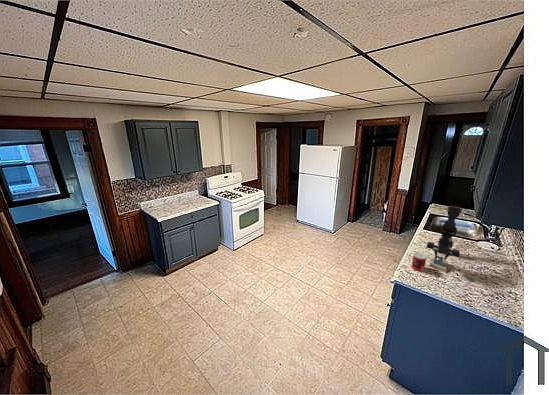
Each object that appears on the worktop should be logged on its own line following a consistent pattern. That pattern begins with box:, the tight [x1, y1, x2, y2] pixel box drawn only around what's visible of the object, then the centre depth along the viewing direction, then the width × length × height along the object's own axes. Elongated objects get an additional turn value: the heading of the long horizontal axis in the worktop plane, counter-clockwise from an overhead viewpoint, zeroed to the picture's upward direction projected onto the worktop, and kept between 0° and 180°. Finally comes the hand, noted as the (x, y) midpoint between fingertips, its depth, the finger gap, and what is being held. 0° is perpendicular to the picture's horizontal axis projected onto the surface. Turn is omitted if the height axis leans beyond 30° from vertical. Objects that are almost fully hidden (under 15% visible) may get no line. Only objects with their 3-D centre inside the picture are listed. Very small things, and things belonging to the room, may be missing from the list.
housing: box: [433, 255, 444, 266], centre depth 160 cm, size 7×5×4 cm
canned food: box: [411, 251, 428, 272], centre depth 157 cm, size 8×8×11 cm
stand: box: [428, 257, 449, 273], centre depth 161 cm, size 10×10×2 cm
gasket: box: [465, 276, 475, 283], centre depth 147 cm, size 4×4×1 cm
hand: (439, 259), depth 159 cm, fingers open, 4 cm apart
